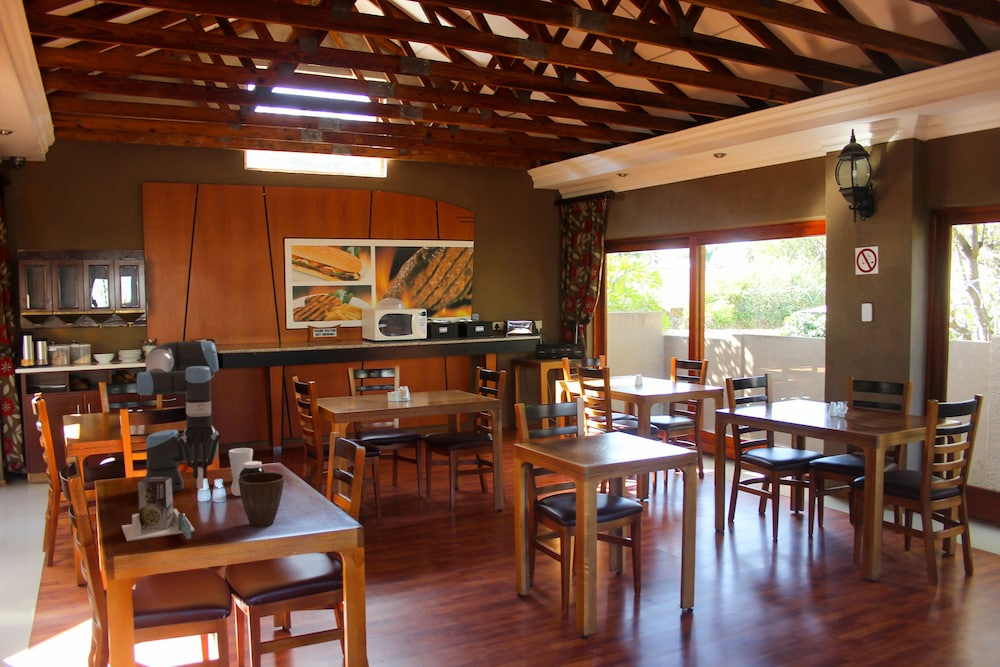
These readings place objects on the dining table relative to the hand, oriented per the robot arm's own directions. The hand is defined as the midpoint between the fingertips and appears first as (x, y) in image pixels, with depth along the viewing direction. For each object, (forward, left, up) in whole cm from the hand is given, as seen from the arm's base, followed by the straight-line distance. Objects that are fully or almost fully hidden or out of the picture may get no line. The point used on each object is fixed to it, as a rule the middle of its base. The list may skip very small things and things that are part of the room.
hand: (200, 487), depth 247 cm
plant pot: (-3, +20, -16) cm, 26 cm away
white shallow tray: (-14, -11, -16) cm, 24 cm away
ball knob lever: (-1, -5, -15) cm, 15 cm away
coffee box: (-16, -11, -15) cm, 25 cm away
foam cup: (-69, +28, -16) cm, 76 cm away
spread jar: (-47, +26, -16) cm, 56 cm away
